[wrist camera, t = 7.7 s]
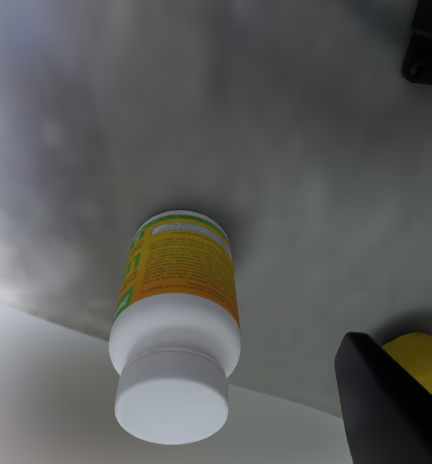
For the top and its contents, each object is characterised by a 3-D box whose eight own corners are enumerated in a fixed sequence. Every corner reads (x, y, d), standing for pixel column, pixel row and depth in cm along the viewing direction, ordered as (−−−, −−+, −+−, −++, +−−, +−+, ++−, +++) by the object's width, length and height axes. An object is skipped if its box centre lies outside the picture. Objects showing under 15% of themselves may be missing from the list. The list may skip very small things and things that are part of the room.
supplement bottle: (129, 204, 20) (84, 363, 12) (235, 209, 21) (258, 366, 13) (133, 285, 23) (98, 455, 15) (226, 288, 24) (240, 456, 16)
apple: (390, 300, 25) (459, 425, 18) (471, 326, 26) (562, 449, 20) (335, 364, 28) (376, 490, 21) (410, 384, 30) (471, 506, 23)
